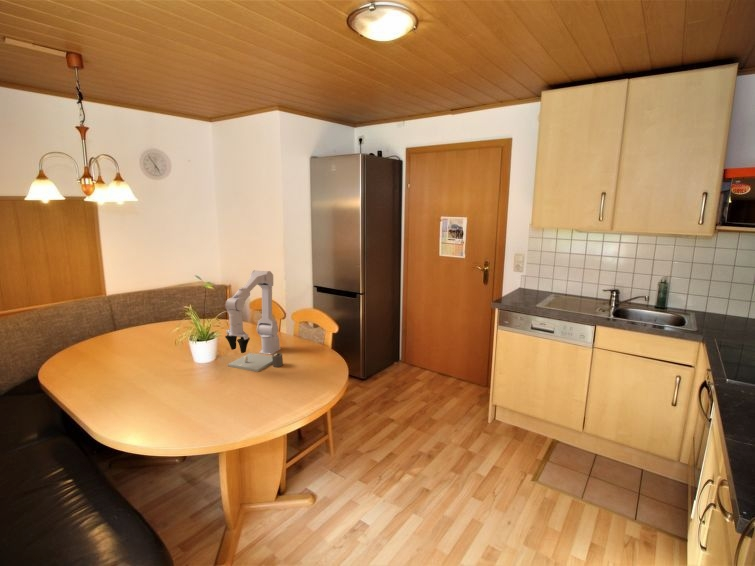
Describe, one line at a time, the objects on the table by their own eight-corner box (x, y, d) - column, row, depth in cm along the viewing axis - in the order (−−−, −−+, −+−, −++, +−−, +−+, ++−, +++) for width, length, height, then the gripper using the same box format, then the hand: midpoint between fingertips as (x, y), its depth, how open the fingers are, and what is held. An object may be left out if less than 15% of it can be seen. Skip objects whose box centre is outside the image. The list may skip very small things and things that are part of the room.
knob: (276, 362, 208) (276, 351, 206) (284, 364, 206) (283, 352, 204) (271, 366, 203) (270, 354, 202) (278, 367, 202) (278, 355, 200)
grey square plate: (249, 354, 218) (249, 347, 218) (278, 359, 211) (278, 351, 211) (228, 366, 204) (227, 358, 203) (257, 371, 197) (257, 363, 196)
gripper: (219, 322, 196) (222, 350, 199) (238, 328, 187) (240, 356, 190) (232, 319, 201) (234, 345, 204) (251, 324, 193) (253, 352, 196)
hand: (238, 350), depth 197 cm, fingers open, 7 cm apart
